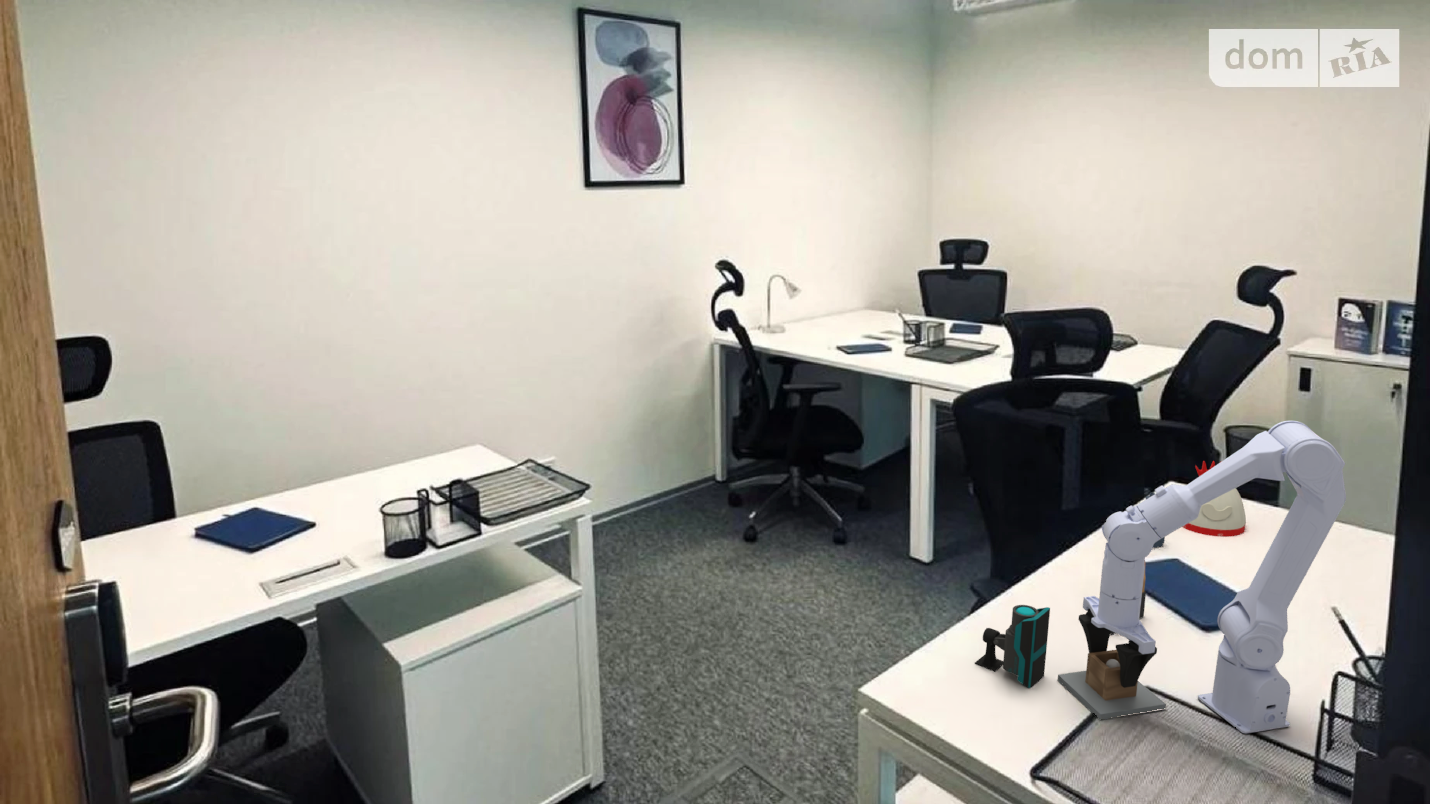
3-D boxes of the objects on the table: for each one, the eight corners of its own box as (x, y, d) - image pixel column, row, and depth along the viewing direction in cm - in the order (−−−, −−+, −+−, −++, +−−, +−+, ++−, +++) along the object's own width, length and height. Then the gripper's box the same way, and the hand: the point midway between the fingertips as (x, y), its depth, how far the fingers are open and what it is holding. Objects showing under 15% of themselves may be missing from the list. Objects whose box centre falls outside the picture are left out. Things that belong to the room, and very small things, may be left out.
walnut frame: (1136, 696, 137) (1139, 666, 136) (1105, 700, 136) (1108, 671, 135) (1115, 677, 142) (1118, 649, 141) (1085, 681, 141) (1088, 653, 140)
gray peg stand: (1165, 709, 135) (1169, 674, 134) (1099, 720, 133) (1103, 684, 132) (1119, 671, 146) (1122, 637, 144) (1057, 680, 144) (1060, 646, 142)
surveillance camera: (992, 587, 149) (1051, 607, 142) (988, 653, 152) (1045, 675, 145) (976, 599, 145) (1035, 620, 138) (971, 666, 148) (1029, 689, 141)
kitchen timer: (1170, 510, 212) (1178, 449, 208) (1237, 516, 207) (1245, 454, 204) (1180, 533, 199) (1188, 468, 195) (1250, 540, 195) (1260, 474, 191)
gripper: (1068, 573, 141) (1061, 651, 145) (1128, 617, 127) (1119, 702, 131) (1108, 568, 143) (1101, 645, 146) (1172, 611, 129) (1161, 695, 132)
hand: (1112, 672), depth 139 cm, fingers open, 7 cm apart
